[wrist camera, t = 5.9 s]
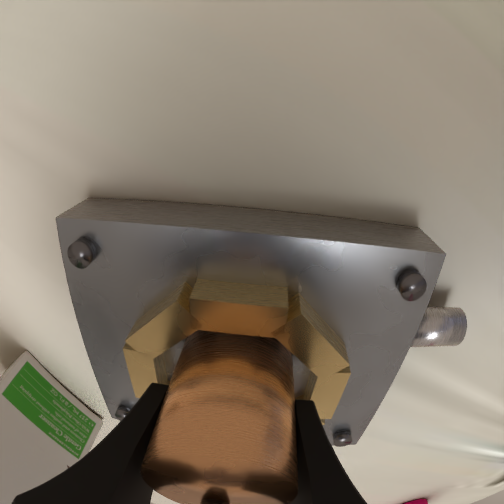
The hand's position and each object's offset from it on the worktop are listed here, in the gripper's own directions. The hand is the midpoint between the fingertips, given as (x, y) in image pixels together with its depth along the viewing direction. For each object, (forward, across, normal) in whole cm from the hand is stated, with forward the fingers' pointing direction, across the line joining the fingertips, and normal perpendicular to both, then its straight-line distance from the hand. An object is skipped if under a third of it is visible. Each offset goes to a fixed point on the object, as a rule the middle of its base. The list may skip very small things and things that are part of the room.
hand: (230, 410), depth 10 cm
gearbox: (+5, -1, 0) cm, 5 cm away
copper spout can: (+2, 0, 0) cm, 2 cm away
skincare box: (+5, +15, +10) cm, 19 cm away
